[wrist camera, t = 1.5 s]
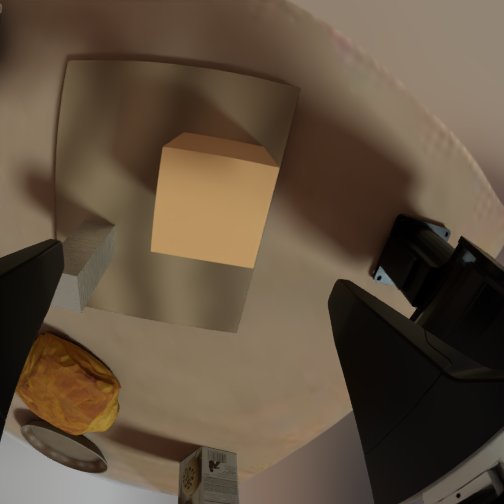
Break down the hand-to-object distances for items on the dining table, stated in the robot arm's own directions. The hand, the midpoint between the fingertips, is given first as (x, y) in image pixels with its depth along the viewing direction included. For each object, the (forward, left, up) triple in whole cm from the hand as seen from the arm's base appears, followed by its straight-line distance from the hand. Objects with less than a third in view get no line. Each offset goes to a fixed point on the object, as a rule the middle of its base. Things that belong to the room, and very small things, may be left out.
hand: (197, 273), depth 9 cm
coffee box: (-5, +44, -13) cm, 46 cm away
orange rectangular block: (0, 0, -12) cm, 12 cm away
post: (+8, +6, -12) cm, 16 cm away
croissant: (+14, +26, -14) cm, 32 cm away
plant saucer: (+21, +50, -14) cm, 56 cm away
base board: (+4, +3, -13) cm, 14 cm away
